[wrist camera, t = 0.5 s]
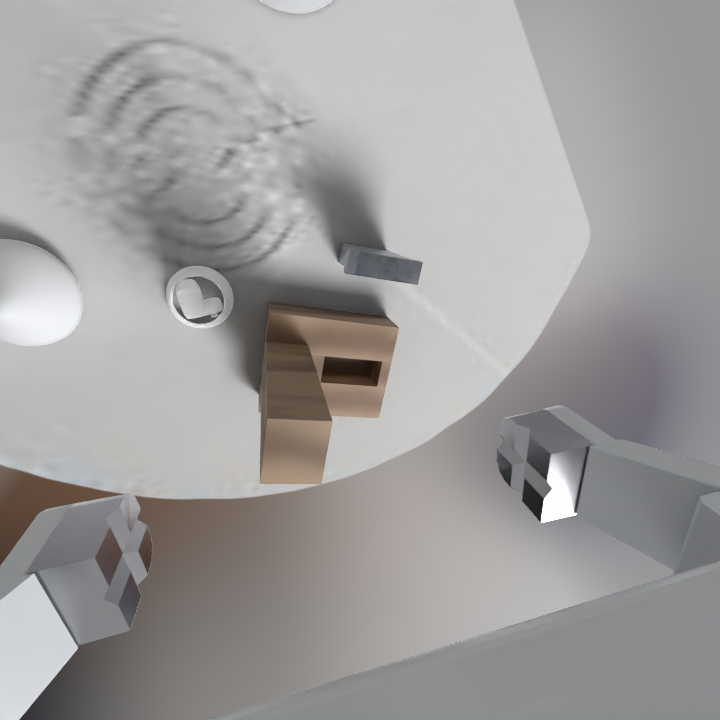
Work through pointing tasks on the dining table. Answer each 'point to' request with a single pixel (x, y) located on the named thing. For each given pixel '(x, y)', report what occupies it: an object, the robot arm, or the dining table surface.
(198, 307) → the white ring with bar
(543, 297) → the dining table surface
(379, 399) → the wooden l-shaped post
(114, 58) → the dining table surface
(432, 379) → the dining table surface
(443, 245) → the dining table surface
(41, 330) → the flower in vase
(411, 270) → the grey rectangular block
